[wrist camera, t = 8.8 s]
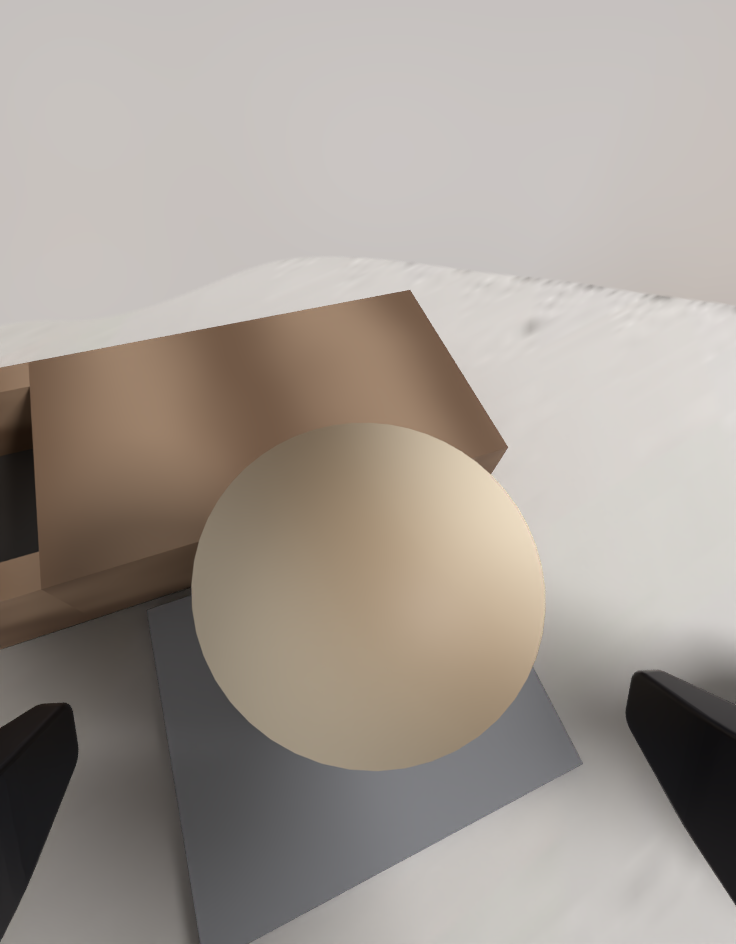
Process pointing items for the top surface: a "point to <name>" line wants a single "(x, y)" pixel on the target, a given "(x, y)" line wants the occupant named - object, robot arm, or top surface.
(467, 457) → the birch cylinder
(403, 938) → the top surface
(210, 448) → the wooden track
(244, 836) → the mat
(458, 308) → the top surface
